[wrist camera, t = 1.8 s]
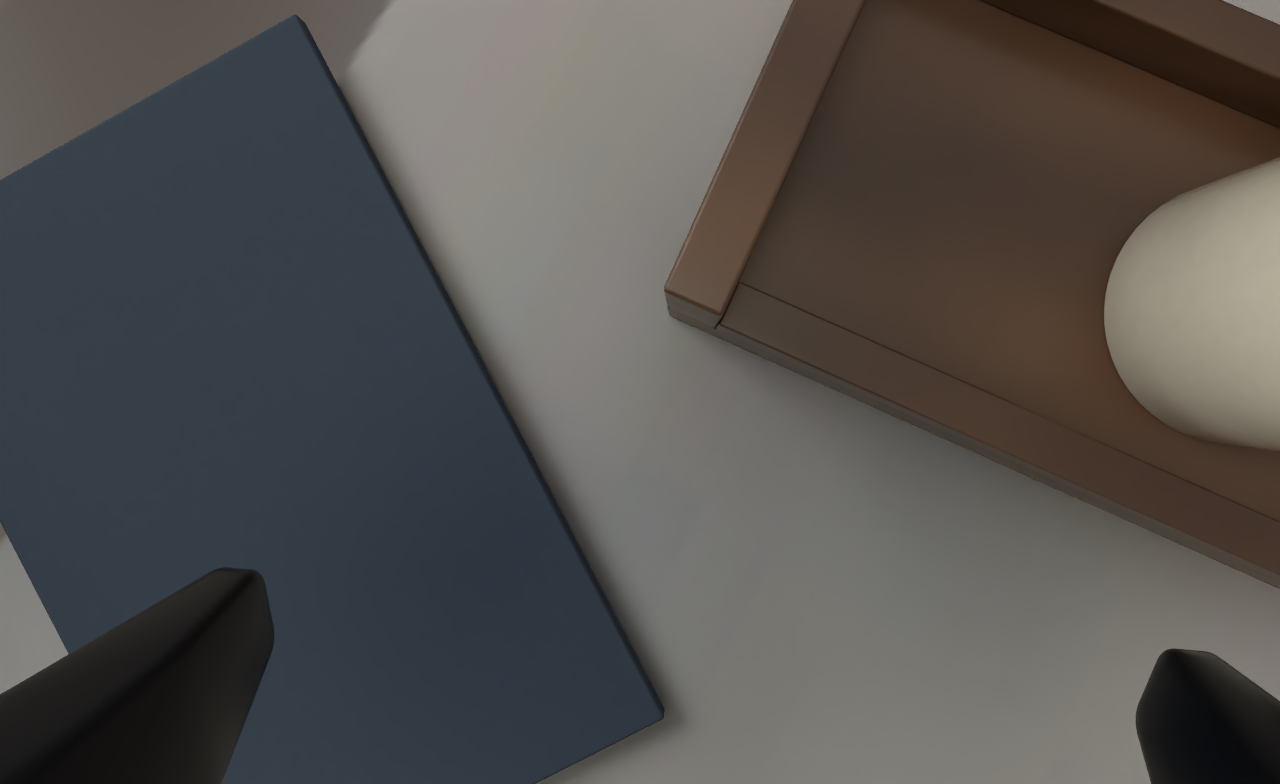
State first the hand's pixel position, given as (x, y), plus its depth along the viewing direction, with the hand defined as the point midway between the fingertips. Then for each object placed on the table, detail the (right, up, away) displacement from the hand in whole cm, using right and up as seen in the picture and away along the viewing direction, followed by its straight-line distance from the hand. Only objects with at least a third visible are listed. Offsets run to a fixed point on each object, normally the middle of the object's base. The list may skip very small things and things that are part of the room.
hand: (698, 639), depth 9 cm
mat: (-10, 0, +14) cm, 18 cm away
